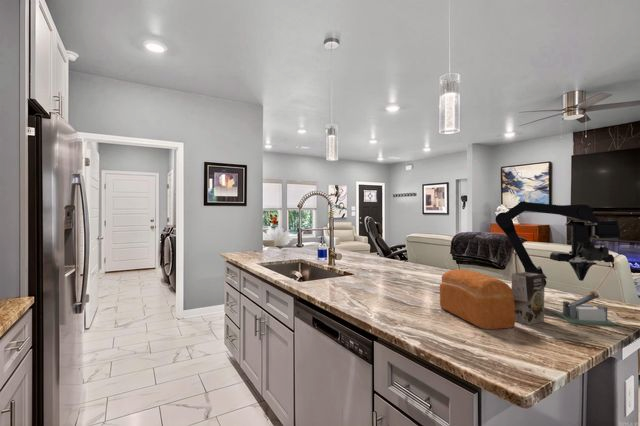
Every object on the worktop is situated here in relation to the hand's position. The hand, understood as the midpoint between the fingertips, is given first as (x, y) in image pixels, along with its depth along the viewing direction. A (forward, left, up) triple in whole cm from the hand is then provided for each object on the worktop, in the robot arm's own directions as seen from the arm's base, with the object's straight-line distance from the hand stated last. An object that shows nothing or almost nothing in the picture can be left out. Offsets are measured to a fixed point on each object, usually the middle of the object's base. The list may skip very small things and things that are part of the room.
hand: (581, 280), depth 121 cm
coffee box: (-24, -12, -12) cm, 29 cm away
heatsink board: (-4, -8, -12) cm, 15 cm away
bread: (-41, -10, -12) cm, 44 cm away
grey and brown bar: (-4, -8, -6) cm, 11 cm away
